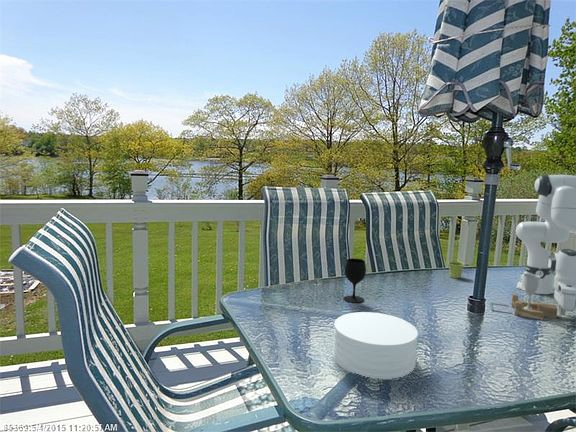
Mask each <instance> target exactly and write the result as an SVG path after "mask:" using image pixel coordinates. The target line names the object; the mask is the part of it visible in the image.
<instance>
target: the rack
mask: <svg viewBox="0 0 576 432" xmlns="http://www.w3.org/2000/svg"><path fill="white" fill-rule="evenodd" d="M527 302H528V301H524V300H519V294H516V293H512V294H511V303H510V306H511V307H512V308H514V311H513V314H514V316H517V317H518V316H519V317H524V318H531V319H537V320H541V321H542V320H544V317H543V315H544V313H543V311H537V305H538V302H532V301H530V302H531V303H530V308H532V309H533V310H529V309H524V307H527V305H528V304H527Z"/></svg>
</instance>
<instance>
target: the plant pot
mask: <svg viewBox="0 0 576 432" xmlns="http://www.w3.org/2000/svg"><path fill="white" fill-rule="evenodd" d="M465 264H466V263H462V262H458V261H449V262H448V266H449V277H450V278H452V277H453V278H452V279H461V277H462V273H463V269H464V267H465V266H466V265H465Z"/></svg>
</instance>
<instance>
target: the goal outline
mask: <svg viewBox="0 0 576 432" xmlns="http://www.w3.org/2000/svg"><path fill="white" fill-rule="evenodd" d="M489 305H490V309H491V311H492V312H498V313H505V314H512V312H509V311H503V310H497V309H494V307H493V305H497V306H504V307H505V306H506V307H510V305H509V304H502V303H495V302H489Z"/></svg>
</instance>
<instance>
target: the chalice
mask: <svg viewBox="0 0 576 432" xmlns="http://www.w3.org/2000/svg"><path fill="white" fill-rule="evenodd" d="M523 274H524V273H523ZM539 278H540V276H539V275H535V274H528V273H526V274H524V288H525V293H526V294H527V295H528V297H527V301H526V302H527V304H528V305H527V307H524V309H529V310H533V309H532V308H530V303H531V302H532V301H531V300H532V298H531V297H532V296H533V295H534V294H536V293H535V291H536V290H537V288H538V284H539Z"/></svg>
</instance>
